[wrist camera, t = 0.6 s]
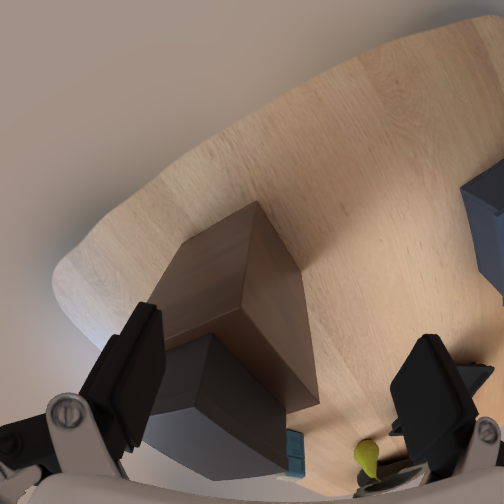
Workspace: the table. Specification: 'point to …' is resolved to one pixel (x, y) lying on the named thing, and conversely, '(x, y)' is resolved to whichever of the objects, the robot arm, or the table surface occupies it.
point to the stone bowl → (388, 478)
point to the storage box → (486, 219)
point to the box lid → (500, 241)
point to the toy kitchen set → (294, 457)
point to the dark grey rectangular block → (216, 415)
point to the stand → (243, 303)
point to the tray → (472, 378)
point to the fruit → (367, 457)
